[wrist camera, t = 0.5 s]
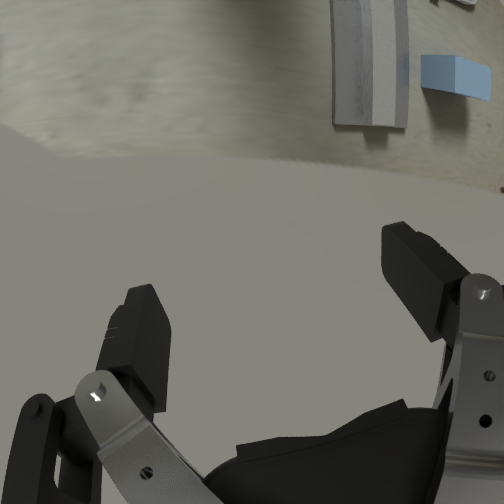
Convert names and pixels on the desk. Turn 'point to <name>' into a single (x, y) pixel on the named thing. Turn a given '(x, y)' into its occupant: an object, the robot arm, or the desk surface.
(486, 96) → the block
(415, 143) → the desk surface
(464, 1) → the bracket
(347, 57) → the din rail
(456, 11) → the desk surface
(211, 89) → the desk surface
